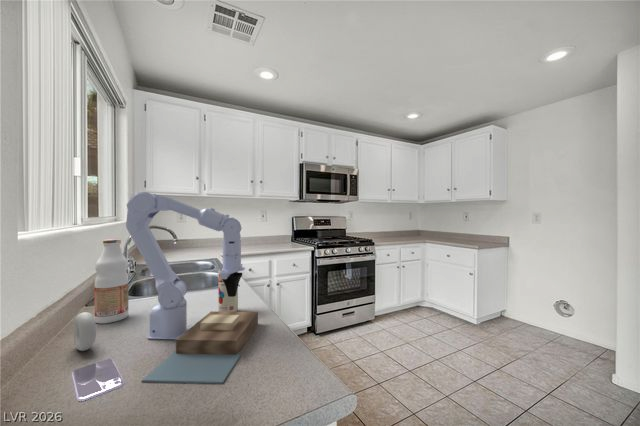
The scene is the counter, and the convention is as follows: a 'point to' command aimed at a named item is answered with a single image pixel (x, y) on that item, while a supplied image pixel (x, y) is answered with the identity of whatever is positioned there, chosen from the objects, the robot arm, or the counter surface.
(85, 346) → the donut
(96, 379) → the mobile phone
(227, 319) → the wooden tile
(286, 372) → the counter surface
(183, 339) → the board
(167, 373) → the slate mat
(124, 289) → the fruit juice
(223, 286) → the aerosol can
